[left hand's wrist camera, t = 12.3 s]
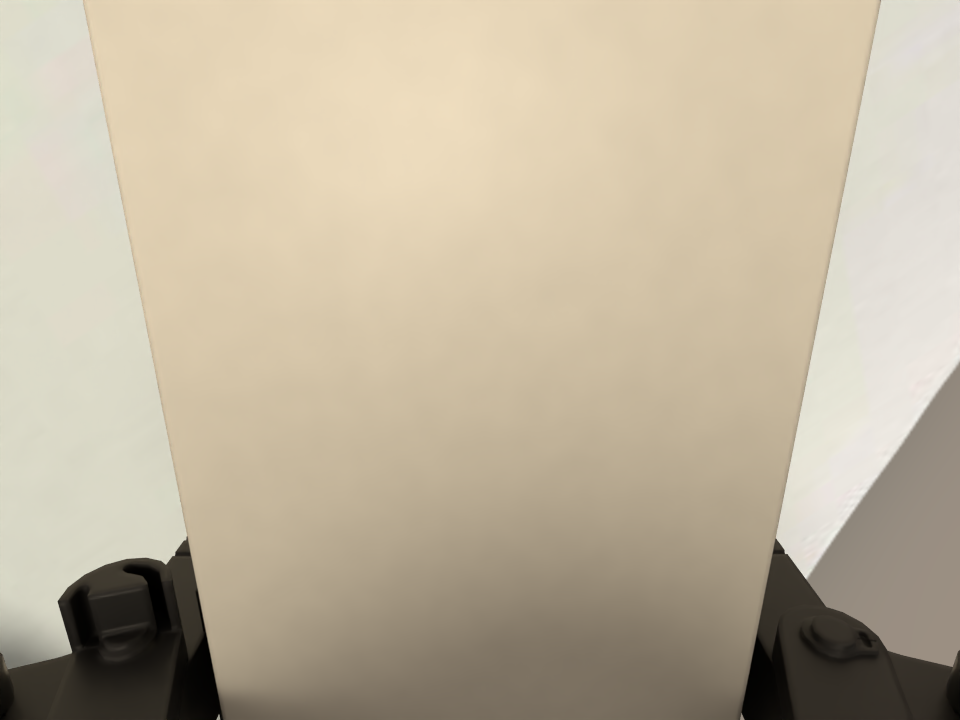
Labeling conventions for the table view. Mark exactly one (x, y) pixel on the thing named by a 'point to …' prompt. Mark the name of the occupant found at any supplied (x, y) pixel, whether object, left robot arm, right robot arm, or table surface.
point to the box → (481, 334)
